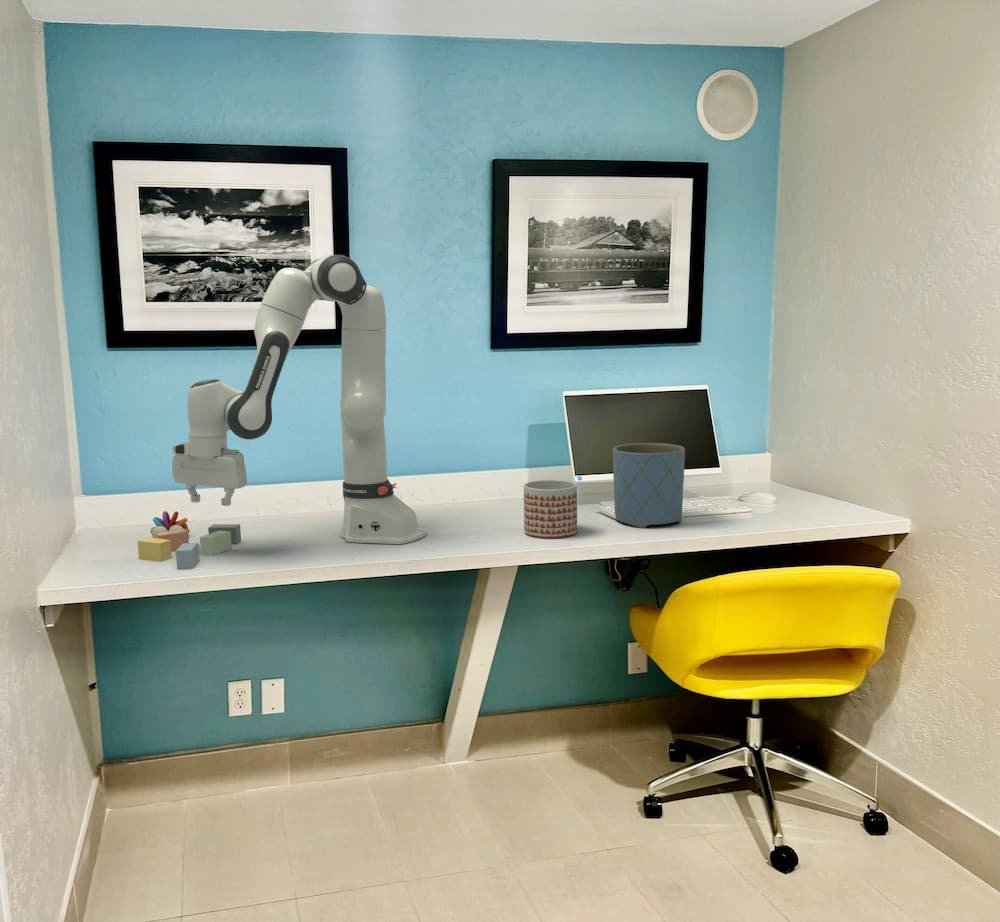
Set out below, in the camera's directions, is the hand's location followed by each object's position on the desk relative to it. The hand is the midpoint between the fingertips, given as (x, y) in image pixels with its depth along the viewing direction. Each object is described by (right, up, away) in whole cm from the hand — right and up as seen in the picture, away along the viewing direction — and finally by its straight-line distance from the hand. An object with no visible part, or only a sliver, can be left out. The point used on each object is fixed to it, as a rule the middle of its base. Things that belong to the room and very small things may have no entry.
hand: (210, 503), depth 232 cm
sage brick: (+1, -12, +2) cm, 12 cm away
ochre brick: (-12, -13, -3) cm, 18 cm away
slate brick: (-2, -14, -9) cm, 17 cm away
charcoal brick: (0, -11, +11) cm, 15 cm away
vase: (+83, -8, +15) cm, 85 cm away
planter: (+110, -6, +26) cm, 113 cm away
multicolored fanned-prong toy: (-16, -10, +17) cm, 25 cm away
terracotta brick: (-11, -12, +5) cm, 17 cm away
